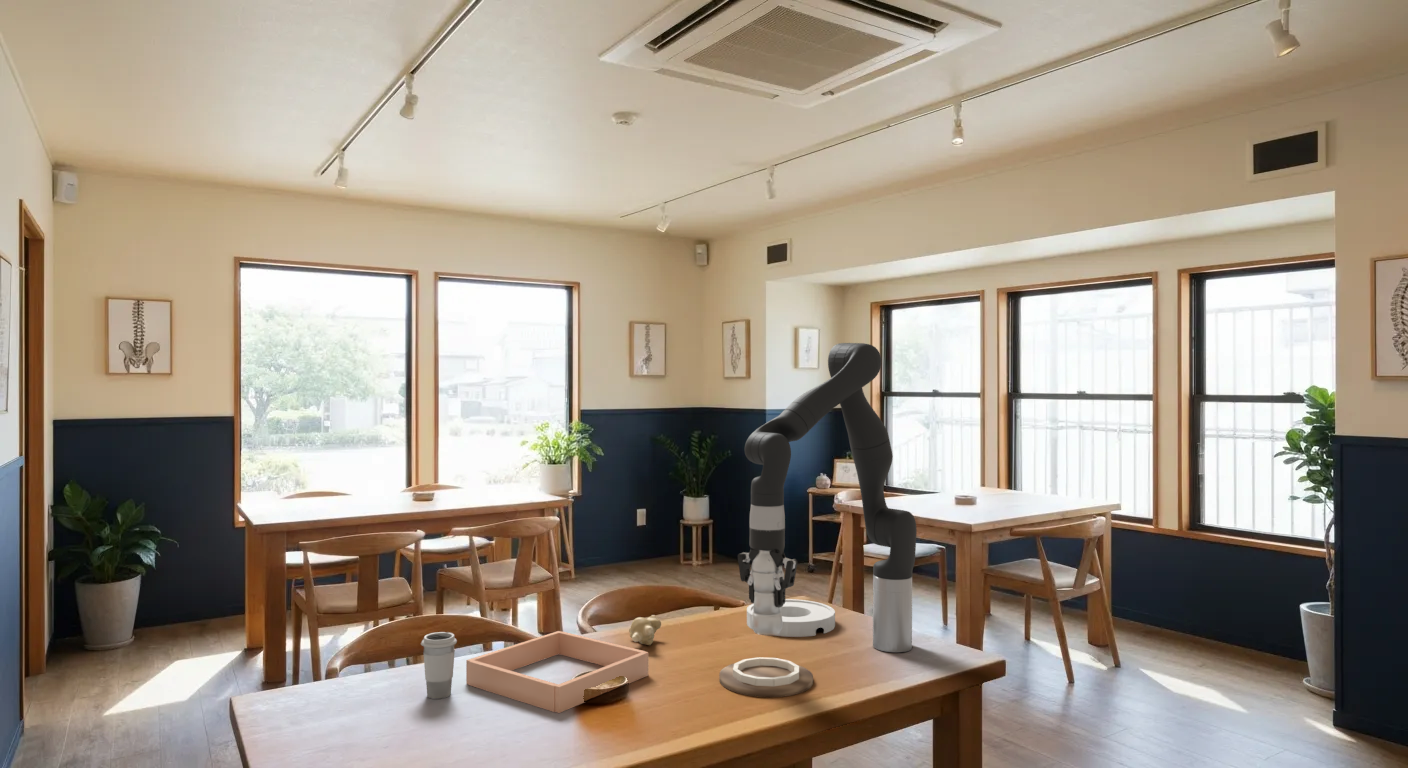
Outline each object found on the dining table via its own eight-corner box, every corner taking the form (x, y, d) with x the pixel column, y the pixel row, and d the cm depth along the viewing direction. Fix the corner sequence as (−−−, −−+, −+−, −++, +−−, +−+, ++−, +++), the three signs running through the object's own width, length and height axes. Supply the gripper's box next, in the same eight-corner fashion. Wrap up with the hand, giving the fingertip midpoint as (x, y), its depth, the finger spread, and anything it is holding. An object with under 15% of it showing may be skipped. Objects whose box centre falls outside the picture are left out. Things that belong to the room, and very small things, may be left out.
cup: (463, 691, 184) (463, 633, 184) (444, 702, 178) (444, 642, 177) (434, 687, 186) (434, 630, 186) (414, 698, 180) (414, 638, 180)
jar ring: (756, 660, 201) (756, 653, 201) (810, 672, 193) (810, 665, 193) (720, 677, 190) (720, 670, 190) (777, 690, 181) (777, 683, 181)
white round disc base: (741, 635, 225) (741, 619, 225) (751, 611, 248) (751, 597, 248) (834, 640, 222) (834, 624, 222) (835, 615, 245) (835, 601, 244)
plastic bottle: (780, 640, 187) (781, 544, 187) (748, 637, 189) (749, 543, 188) (784, 631, 194) (784, 539, 193) (753, 629, 195) (753, 537, 195)
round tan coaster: (752, 659, 205) (752, 654, 205) (829, 677, 193) (829, 671, 193) (700, 683, 189) (700, 678, 189) (782, 704, 177) (782, 698, 177)
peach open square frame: (559, 651, 210) (559, 630, 210) (648, 675, 194) (649, 652, 194) (465, 684, 188) (465, 660, 188) (558, 713, 172) (558, 687, 172)
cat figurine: (659, 613, 223) (653, 611, 211) (666, 641, 221) (661, 641, 209) (627, 622, 223) (620, 621, 211) (634, 651, 221) (627, 651, 209)
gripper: (805, 526, 190) (804, 606, 190) (748, 520, 198) (748, 596, 198) (787, 531, 184) (786, 613, 184) (729, 524, 192) (729, 603, 192)
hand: (766, 604), depth 191 cm, fingers closed on plastic bottle, 5 cm apart
